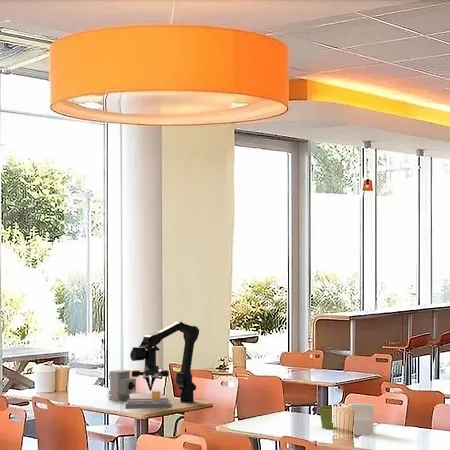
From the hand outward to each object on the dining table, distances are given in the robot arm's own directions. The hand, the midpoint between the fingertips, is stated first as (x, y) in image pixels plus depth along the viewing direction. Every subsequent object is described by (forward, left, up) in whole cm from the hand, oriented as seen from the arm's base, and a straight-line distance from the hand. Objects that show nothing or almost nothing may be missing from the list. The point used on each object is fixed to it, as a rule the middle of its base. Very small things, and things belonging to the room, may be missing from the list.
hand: (150, 390), depth 482 cm
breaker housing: (+1, 0, -8) cm, 8 cm away
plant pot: (-80, +75, -8) cm, 110 cm away
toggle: (-3, 0, -5) cm, 6 cm away
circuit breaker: (+15, -24, -8) cm, 30 cm away
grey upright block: (-92, +89, -8) cm, 128 cm away
